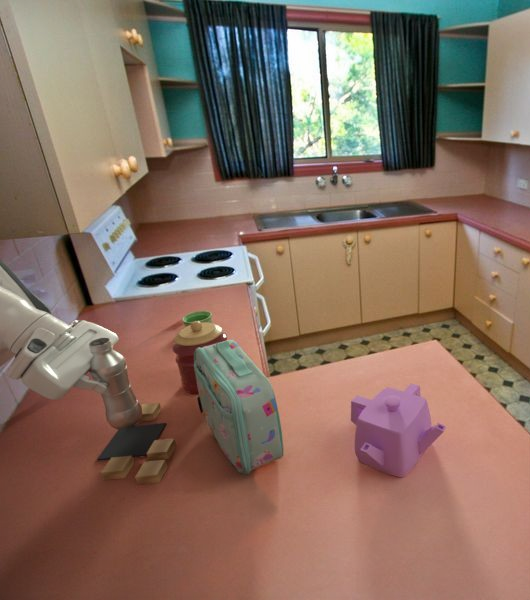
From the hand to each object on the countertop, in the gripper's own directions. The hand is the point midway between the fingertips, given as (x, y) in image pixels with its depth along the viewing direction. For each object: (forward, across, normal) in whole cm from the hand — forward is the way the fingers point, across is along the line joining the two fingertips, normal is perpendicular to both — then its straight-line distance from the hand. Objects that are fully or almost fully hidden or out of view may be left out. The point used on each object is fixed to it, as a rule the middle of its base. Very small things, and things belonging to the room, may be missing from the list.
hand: (115, 378), depth 86 cm
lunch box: (+28, +3, +5) cm, 29 cm away
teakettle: (+51, +11, +28) cm, 59 cm away
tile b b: (+16, +5, -6) cm, 18 cm away
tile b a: (+12, +9, -11) cm, 18 cm away
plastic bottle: (+8, 0, -9) cm, 12 cm away
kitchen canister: (+18, -22, -5) cm, 29 cm away
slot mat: (+11, 0, -12) cm, 16 cm away
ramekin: (+9, -55, -14) cm, 57 cm away
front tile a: (+17, +11, -6) cm, 21 cm away
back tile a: (+11, -9, -12) cm, 18 cm away
